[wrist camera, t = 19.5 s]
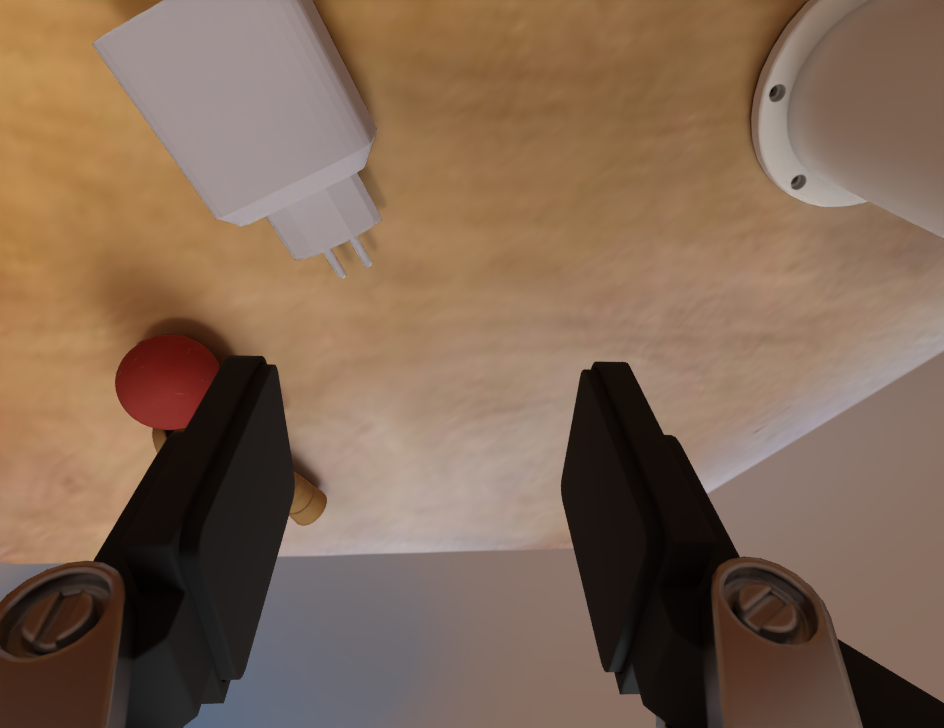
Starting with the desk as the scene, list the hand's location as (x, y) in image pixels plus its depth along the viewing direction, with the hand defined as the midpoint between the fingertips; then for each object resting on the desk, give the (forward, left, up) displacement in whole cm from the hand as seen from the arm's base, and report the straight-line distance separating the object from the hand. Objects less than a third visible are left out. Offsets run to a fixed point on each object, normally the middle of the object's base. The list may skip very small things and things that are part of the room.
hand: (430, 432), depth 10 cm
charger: (+8, +1, -27) cm, 28 cm away
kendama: (+14, +20, -26) cm, 36 cm away
